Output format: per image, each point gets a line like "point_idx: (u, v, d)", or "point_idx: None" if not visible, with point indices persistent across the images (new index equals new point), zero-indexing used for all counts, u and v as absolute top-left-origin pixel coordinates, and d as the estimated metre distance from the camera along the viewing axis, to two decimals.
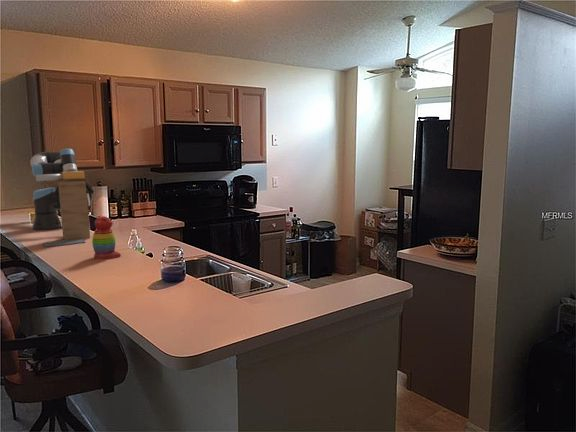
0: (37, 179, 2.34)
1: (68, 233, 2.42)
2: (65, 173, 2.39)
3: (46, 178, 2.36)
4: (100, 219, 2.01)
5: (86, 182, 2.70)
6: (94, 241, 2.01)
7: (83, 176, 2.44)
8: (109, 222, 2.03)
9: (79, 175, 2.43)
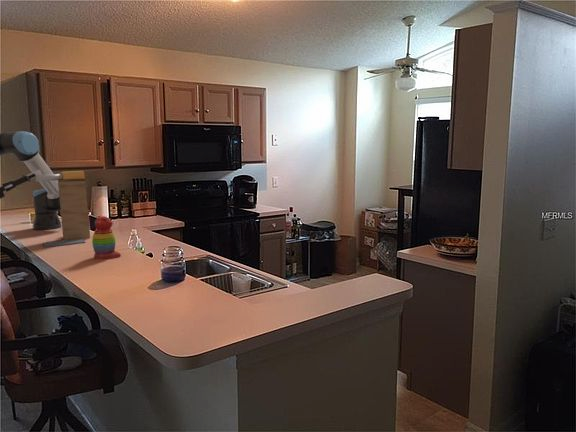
0: (37, 179, 2.33)
1: (68, 233, 2.42)
2: (65, 173, 2.39)
3: (46, 178, 2.35)
4: (100, 219, 2.01)
5: (15, 186, 2.27)
6: (94, 241, 2.01)
7: (83, 176, 2.44)
8: (109, 222, 2.03)
9: (79, 175, 2.43)
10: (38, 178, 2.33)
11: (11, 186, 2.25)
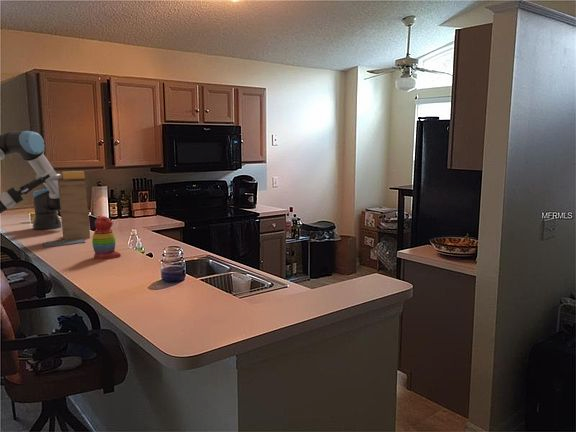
0: None
1: (68, 233, 2.42)
2: (65, 173, 2.39)
3: None
4: (100, 219, 2.01)
5: (31, 189, 2.29)
6: (94, 241, 2.01)
7: (83, 176, 2.44)
8: (109, 222, 2.03)
9: (79, 175, 2.43)
10: (38, 178, 2.34)
11: (27, 190, 2.28)
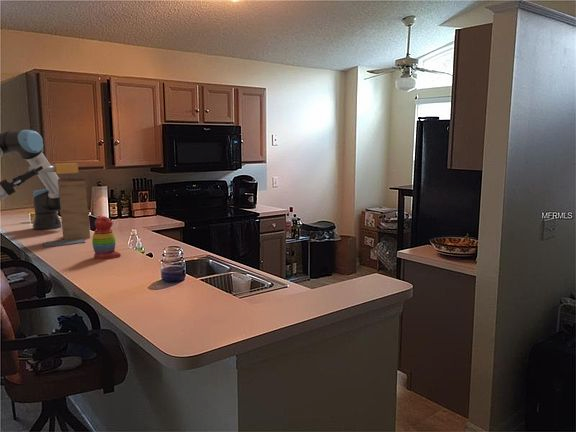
0: None
1: (68, 233, 2.42)
2: (58, 165, 2.37)
3: None
4: (100, 219, 2.01)
5: (23, 181, 2.27)
6: (94, 241, 2.01)
7: (76, 168, 2.42)
8: (109, 222, 2.03)
9: (73, 167, 2.41)
10: (30, 170, 2.32)
11: (19, 182, 2.26)
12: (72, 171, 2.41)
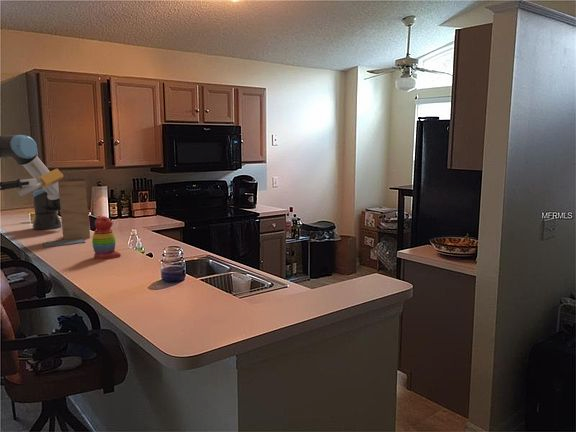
0: (22, 192, 2.22)
1: (68, 233, 2.42)
2: (43, 176, 2.31)
3: (29, 187, 2.25)
4: (100, 219, 2.01)
5: (3, 189, 2.16)
6: (94, 241, 2.01)
7: (60, 172, 2.37)
8: (109, 222, 2.03)
9: (56, 173, 2.35)
10: (22, 190, 2.22)
11: None
12: (58, 176, 2.35)
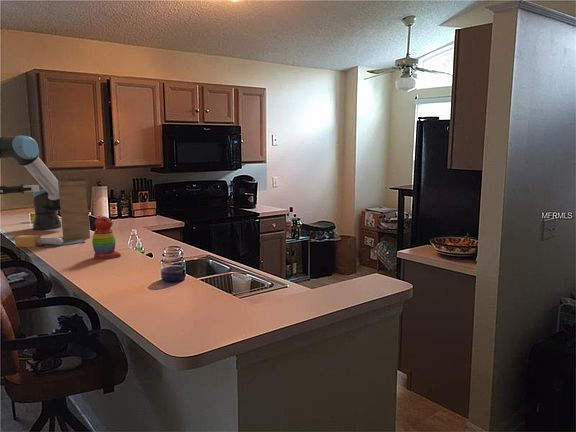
0: (58, 240, 2.28)
1: (68, 233, 2.42)
2: (32, 245, 2.29)
3: (50, 241, 2.28)
4: (100, 219, 2.01)
5: (5, 193, 2.15)
6: (94, 241, 2.01)
7: (16, 241, 2.29)
8: (109, 222, 2.03)
9: (19, 242, 2.29)
10: (57, 241, 2.28)
11: (1, 192, 2.14)
12: (20, 239, 2.29)
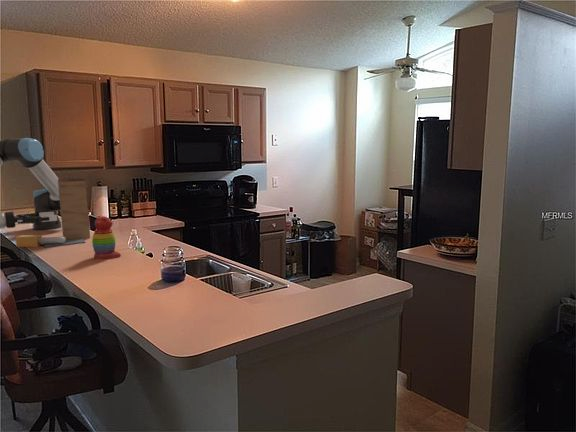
0: (61, 239, 2.31)
1: (68, 233, 2.42)
2: (34, 245, 2.30)
3: (53, 240, 2.31)
4: (100, 219, 2.01)
5: None
6: (94, 241, 2.01)
7: (17, 241, 2.29)
8: (109, 222, 2.03)
9: (21, 242, 2.29)
10: (61, 240, 2.31)
11: (20, 222, 2.19)
12: (21, 238, 2.29)
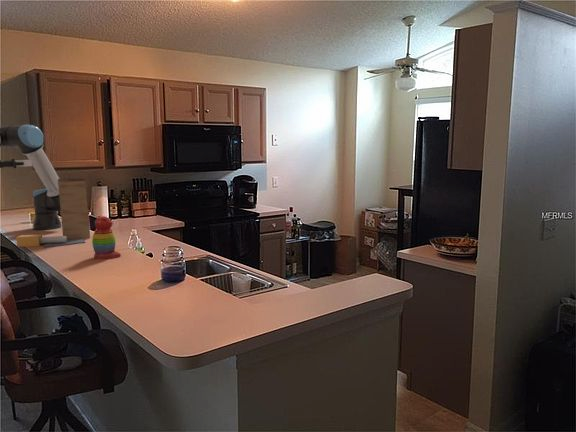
0: (63, 238, 2.33)
1: (68, 233, 2.42)
2: (36, 244, 2.31)
3: (55, 239, 2.32)
4: (100, 219, 2.01)
5: None
6: (94, 241, 2.01)
7: (18, 241, 2.30)
8: (109, 222, 2.03)
9: (22, 242, 2.30)
10: (63, 239, 2.32)
11: None
12: (22, 238, 2.30)
